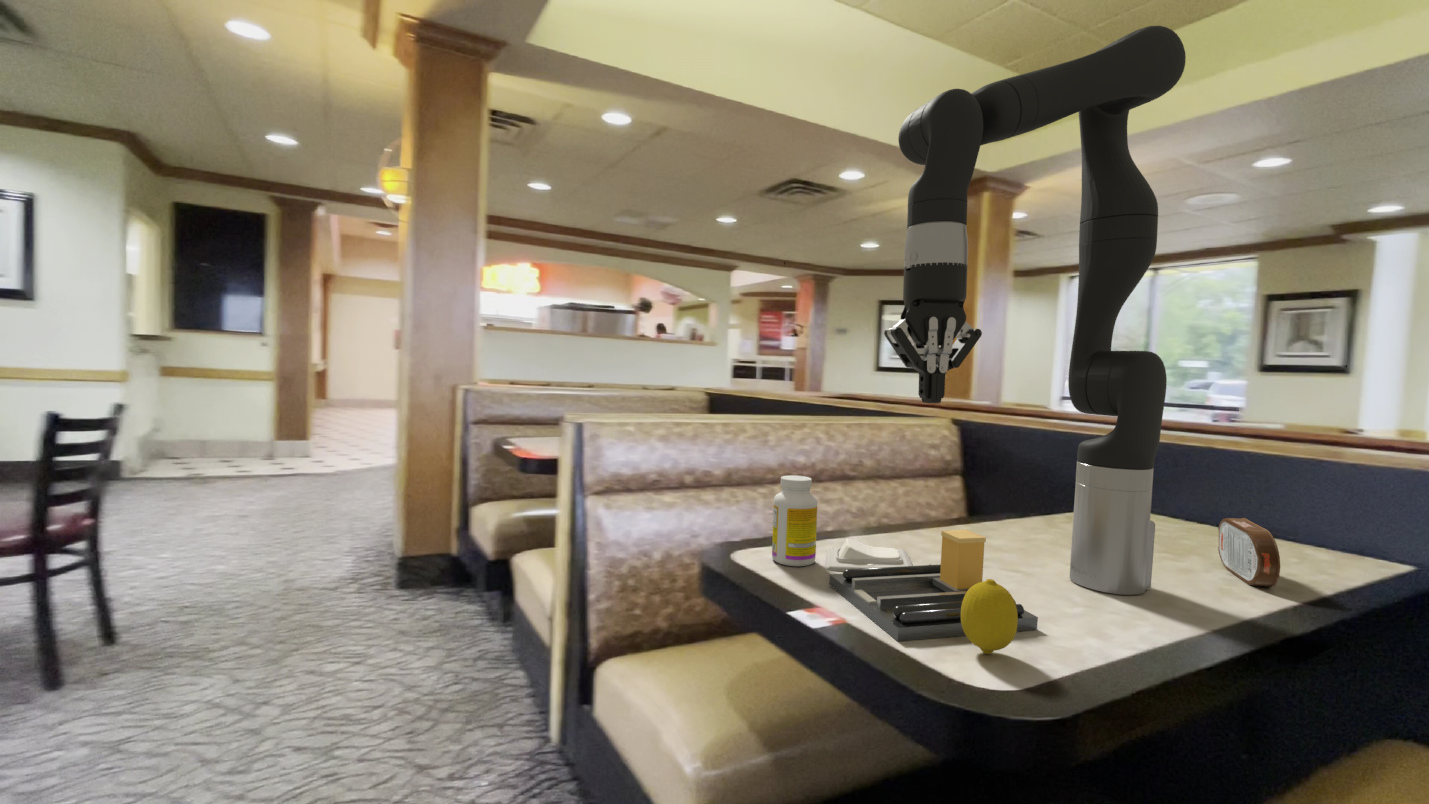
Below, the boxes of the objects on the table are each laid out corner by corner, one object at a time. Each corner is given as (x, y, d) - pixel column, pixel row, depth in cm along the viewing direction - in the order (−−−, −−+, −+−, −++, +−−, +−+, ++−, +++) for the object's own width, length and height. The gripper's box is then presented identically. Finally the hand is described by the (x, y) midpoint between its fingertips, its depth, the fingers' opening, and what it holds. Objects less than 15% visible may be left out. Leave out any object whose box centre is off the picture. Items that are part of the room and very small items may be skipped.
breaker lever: (965, 582, 85) (968, 528, 84) (989, 595, 80) (992, 538, 80) (932, 584, 83) (935, 529, 83) (954, 597, 79) (957, 539, 78)
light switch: (825, 532, 104) (907, 534, 102) (826, 557, 104) (907, 559, 102) (824, 550, 94) (915, 553, 91) (825, 578, 94) (915, 581, 91)
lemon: (1026, 665, 65) (1031, 588, 64) (974, 666, 64) (978, 588, 64) (998, 642, 70) (1002, 571, 70) (949, 642, 70) (953, 570, 69)
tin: (1280, 595, 89) (1285, 536, 88) (1252, 592, 90) (1257, 533, 89) (1235, 565, 103) (1239, 513, 102) (1212, 562, 104) (1215, 511, 104)
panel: (945, 578, 91) (946, 558, 91) (1036, 629, 74) (1038, 605, 74) (829, 585, 87) (830, 564, 87) (897, 641, 70) (898, 615, 69)
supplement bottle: (824, 562, 97) (827, 479, 97) (796, 570, 93) (799, 483, 92) (790, 552, 102) (793, 472, 101) (762, 559, 98) (765, 476, 97)
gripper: (962, 270, 85) (958, 400, 86) (872, 266, 82) (869, 401, 83) (1001, 262, 78) (995, 404, 79) (903, 257, 74) (899, 405, 76)
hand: (930, 402), depth 81 cm, fingers closed
